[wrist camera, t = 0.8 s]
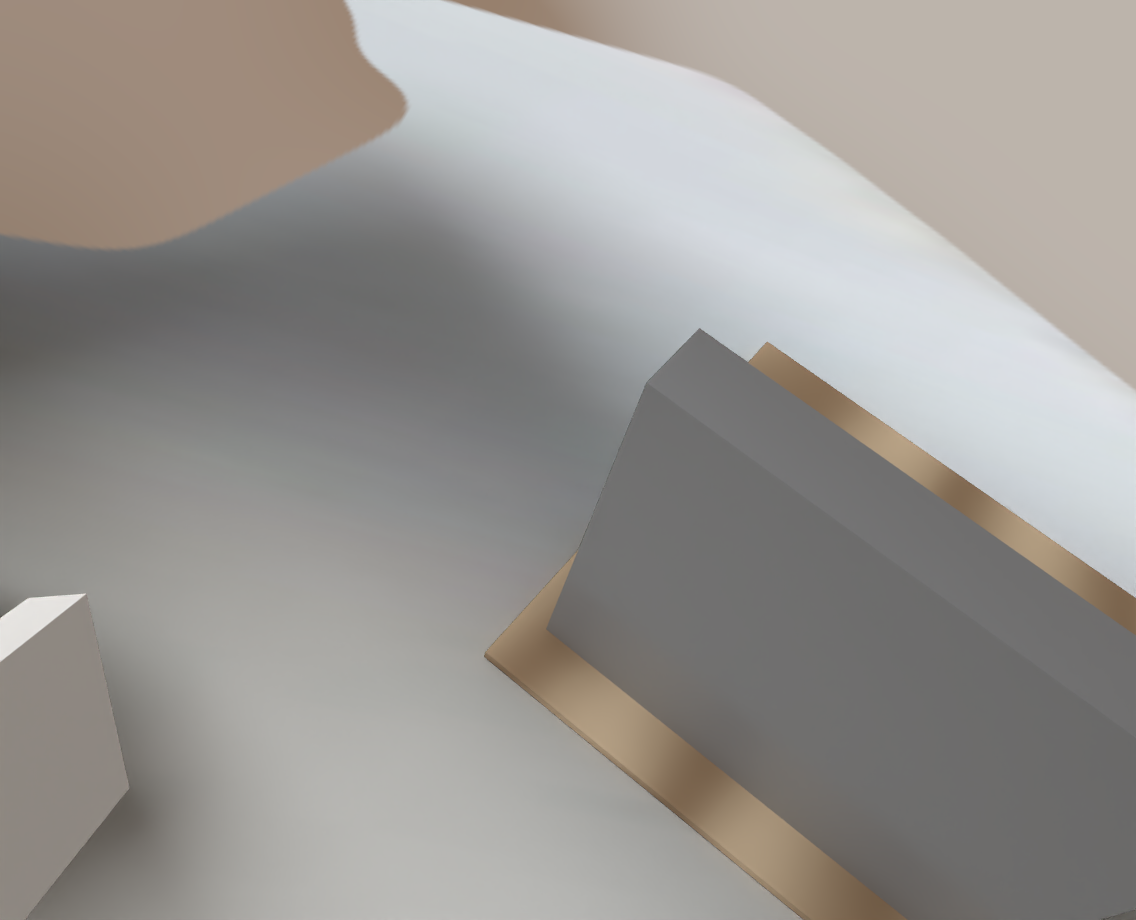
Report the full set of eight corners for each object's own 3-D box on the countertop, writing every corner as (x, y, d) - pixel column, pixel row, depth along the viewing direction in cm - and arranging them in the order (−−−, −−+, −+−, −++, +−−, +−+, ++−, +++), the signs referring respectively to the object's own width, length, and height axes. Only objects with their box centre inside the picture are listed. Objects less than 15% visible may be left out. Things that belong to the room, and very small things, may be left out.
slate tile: (545, 629, 36) (646, 382, 24) (587, 581, 37) (702, 324, 25) (958, 960, 33) (1304, 860, 21) (990, 896, 34) (1333, 767, 22)
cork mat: (484, 656, 35) (485, 651, 35) (763, 347, 45) (767, 341, 44) (954, 1043, 32) (960, 1041, 31) (1153, 619, 41) (1160, 615, 41)
